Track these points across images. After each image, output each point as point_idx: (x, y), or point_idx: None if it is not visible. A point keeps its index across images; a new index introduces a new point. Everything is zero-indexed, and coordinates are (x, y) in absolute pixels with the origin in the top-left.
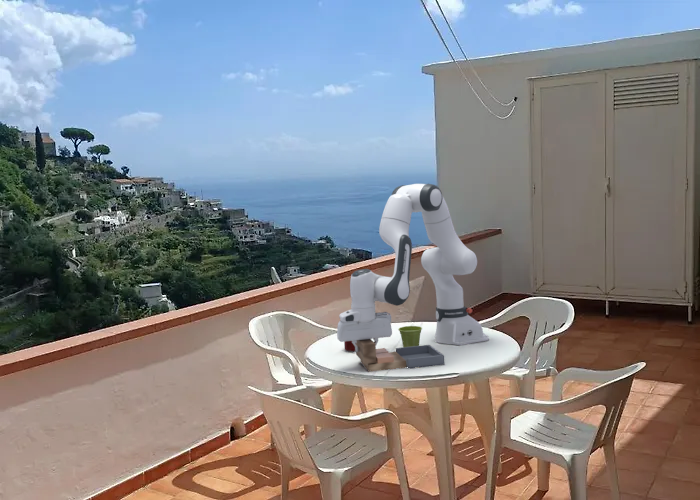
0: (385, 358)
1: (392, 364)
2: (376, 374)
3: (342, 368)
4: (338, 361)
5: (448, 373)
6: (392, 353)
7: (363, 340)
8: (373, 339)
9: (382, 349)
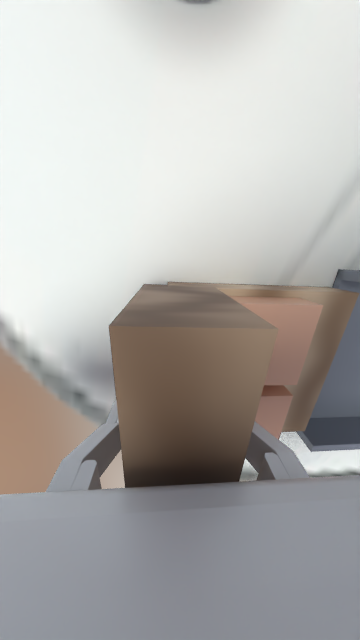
0: None
1: None
2: None
3: (73, 349)
4: (54, 222)
5: (343, 472)
6: (325, 319)
7: None
8: (265, 457)
9: (295, 332)
